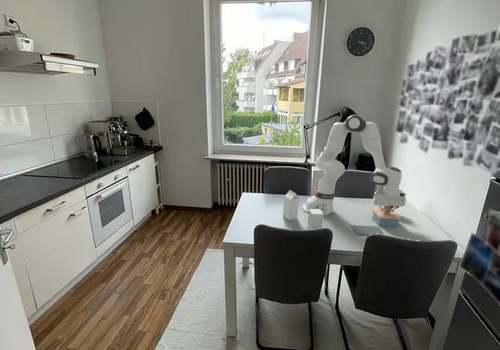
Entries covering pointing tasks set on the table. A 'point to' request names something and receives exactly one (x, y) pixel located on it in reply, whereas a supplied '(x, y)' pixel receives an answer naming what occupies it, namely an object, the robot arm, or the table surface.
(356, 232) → the mat
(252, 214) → the table surface
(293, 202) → the milk carton
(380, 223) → the dish
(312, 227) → the supplement box
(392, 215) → the lid
